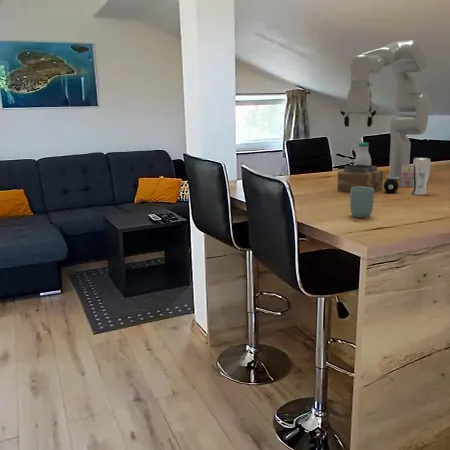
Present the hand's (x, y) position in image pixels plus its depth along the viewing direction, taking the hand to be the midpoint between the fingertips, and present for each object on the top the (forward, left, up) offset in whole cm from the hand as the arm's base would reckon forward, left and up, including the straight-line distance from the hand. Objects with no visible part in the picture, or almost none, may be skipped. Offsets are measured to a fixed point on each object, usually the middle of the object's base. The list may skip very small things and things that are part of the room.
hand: (357, 126), depth 209 cm
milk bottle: (-15, -6, -29) cm, 33 cm away
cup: (+41, +29, -29) cm, 58 cm away
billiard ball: (-6, +14, -29) cm, 32 cm away
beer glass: (-11, +24, -29) cm, 39 cm away
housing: (-2, +1, -28) cm, 28 cm away
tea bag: (-24, +12, -29) cm, 39 cm away
